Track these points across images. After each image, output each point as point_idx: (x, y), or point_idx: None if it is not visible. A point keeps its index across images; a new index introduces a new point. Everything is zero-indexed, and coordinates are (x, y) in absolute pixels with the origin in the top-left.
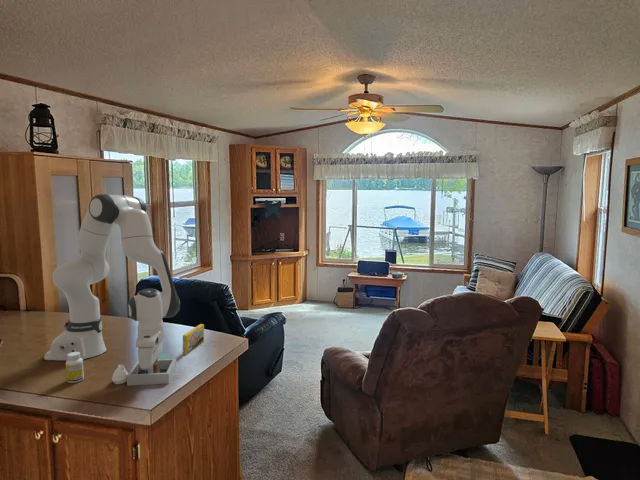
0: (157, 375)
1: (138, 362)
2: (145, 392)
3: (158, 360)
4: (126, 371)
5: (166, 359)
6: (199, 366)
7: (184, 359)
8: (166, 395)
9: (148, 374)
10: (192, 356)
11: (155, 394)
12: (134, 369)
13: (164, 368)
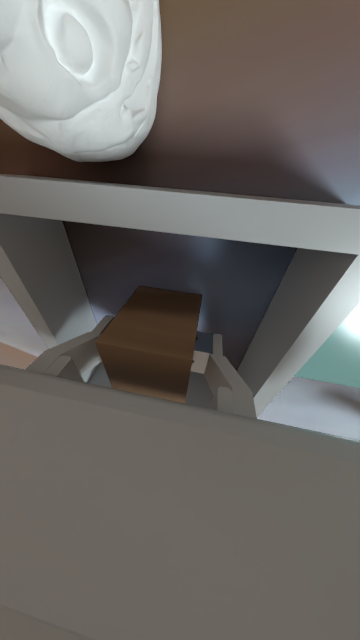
0: None
1: (322, 243)
2: (6, 294)
3: (264, 383)
4: (32, 115)
5: (256, 409)
6: None
7: (322, 412)
8: (20, 348)
9: (42, 334)
10: (336, 429)
11: (11, 324)
12: (120, 224)
13: (244, 359)
